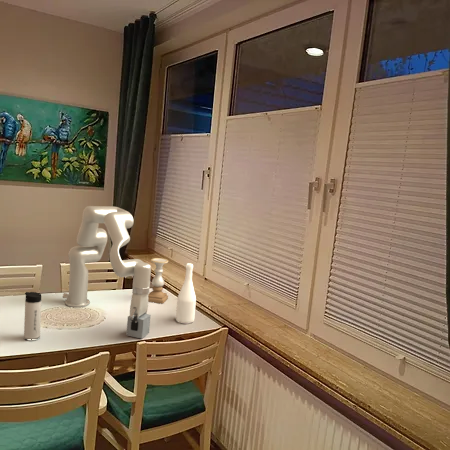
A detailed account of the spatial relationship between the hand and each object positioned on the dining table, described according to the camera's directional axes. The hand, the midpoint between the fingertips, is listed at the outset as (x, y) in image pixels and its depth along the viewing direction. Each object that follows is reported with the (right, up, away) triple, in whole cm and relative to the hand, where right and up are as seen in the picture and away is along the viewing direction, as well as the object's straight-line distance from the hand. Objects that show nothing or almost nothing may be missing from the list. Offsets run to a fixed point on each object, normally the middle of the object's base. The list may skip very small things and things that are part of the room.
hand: (138, 326), depth 199 cm
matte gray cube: (0, -3, 0) cm, 3 cm away
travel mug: (-43, -2, -14) cm, 45 cm away
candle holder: (0, +3, +54) cm, 54 cm away
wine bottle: (+19, -3, +24) cm, 31 cm away
